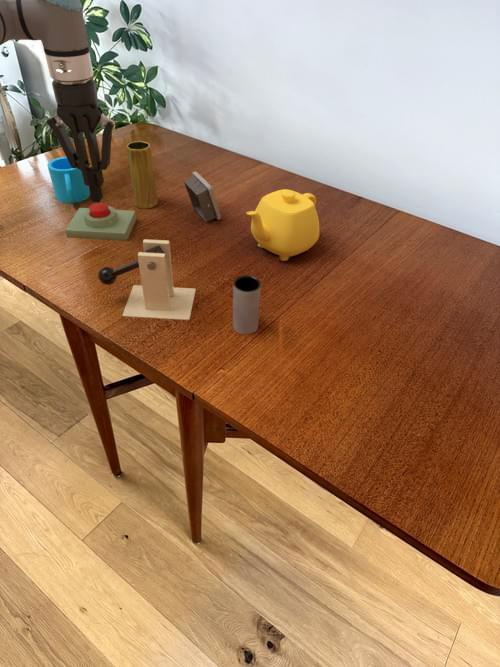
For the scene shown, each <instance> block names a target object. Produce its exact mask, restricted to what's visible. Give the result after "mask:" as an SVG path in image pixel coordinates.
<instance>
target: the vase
mask: <svg viewBox="0 0 500 667" xmlns="http://www.w3.org/2000/svg"><path fill="white" fill-rule="evenodd" d="M126 153H127V159H128V167H129V174H130V180H131V188H132V191H131V192H132V205H133V206H134V207H135V208H137V209H142V210H148V209H152V208H154V207H156V206H157V205H158V204H159V199H158V195H157V189H156V183H155V174H154V166H153V159H152V150H151V144H150V143H149V142H147V141H143V140H134V141H131V142H129V143H127V144H126Z"/></svg>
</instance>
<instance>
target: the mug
mask: <svg viewBox="0 0 500 667" xmlns="http://www.w3.org/2000/svg"><path fill="white" fill-rule="evenodd" d="M47 170H48V173H49V178H50V181H51V184H52V188H53V192H54V195H55V198H56V200H57V201H58V202H60V203H64V204H76V203H80V202H83V201H86V200H87V199H88V198H90V197H91V193H90V188H89V186H86V185H85V184H84V180H83V176H82V172H81V170H80V169H77V168H72V167H71V166H70V163H69V161H68V159H67V157H66V156H62V157H57V158H54V159H52V160H50V161H49V162H48V163H47Z"/></svg>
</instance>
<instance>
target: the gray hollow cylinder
mask: <svg viewBox="0 0 500 667" xmlns="http://www.w3.org/2000/svg"><path fill="white" fill-rule="evenodd" d="M261 289H262V282H261V280H260V279H259V278H258V277H256V276H255V275H249V274H247V275H246V274H243V275H240V276H237V277H235V279H234V280H233V283H232V328H233V330H234V331H235V332H237V333H238V334H241V335H251V334H254V333H255V332H257V331H258V329H259V323H260V322H259V320H260V309H261V308H260V307H261V306H260V305H261V293H262V292H261V291H262V290H261Z"/></svg>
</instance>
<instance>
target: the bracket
mask: <svg viewBox="0 0 500 667" xmlns="http://www.w3.org/2000/svg"><path fill="white" fill-rule="evenodd" d="M158 245H159V246H160V247H161V249H162V250H163V251H164V253H165V254H166V256H165V254H163V253H145V251H146V250H148V249H151V248H153V247H156V246H158ZM142 246H143V251H139V252H137V260H138V262H139V268H138V269H139V274H140V280H141V281H140V282H141V285H139V284H133V286H132V288H131V291H130V294H129V296H128V299H127V301H126V304H125V307H124V309H123V312H122V314H121V316H122V317H124V318H142V319H160V320H176V321H190V320H191V315H192V311H193V306H194V302H195V295H196V292H197V288H194V287H193V288H191V287H177V286H176V287H175V285H174V278H173V277H174V276H173V275H174V274H173V265H172V254H171V242H170V240H165V239H163V240H162V239H150V238H149V239H146V238H144V239H143V241H142Z"/></svg>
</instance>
